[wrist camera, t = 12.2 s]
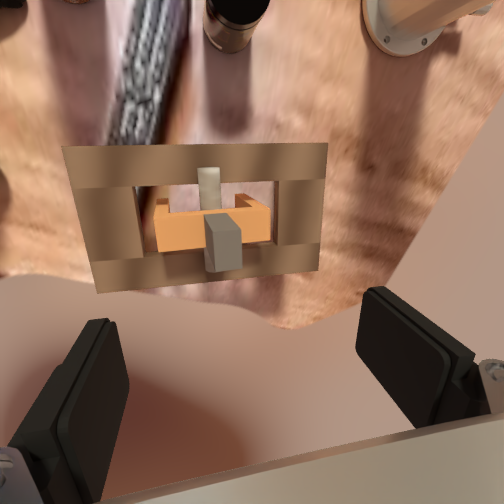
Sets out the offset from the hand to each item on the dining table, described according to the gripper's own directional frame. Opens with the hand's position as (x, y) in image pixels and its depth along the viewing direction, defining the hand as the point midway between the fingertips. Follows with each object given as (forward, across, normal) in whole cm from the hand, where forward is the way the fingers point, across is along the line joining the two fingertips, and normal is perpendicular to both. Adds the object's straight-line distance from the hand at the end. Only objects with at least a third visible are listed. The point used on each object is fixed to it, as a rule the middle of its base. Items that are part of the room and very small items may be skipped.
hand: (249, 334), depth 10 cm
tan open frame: (+31, 0, 0) cm, 31 cm away
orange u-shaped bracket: (+25, +1, 0) cm, 25 cm away
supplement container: (+31, -4, -20) cm, 37 cm away
